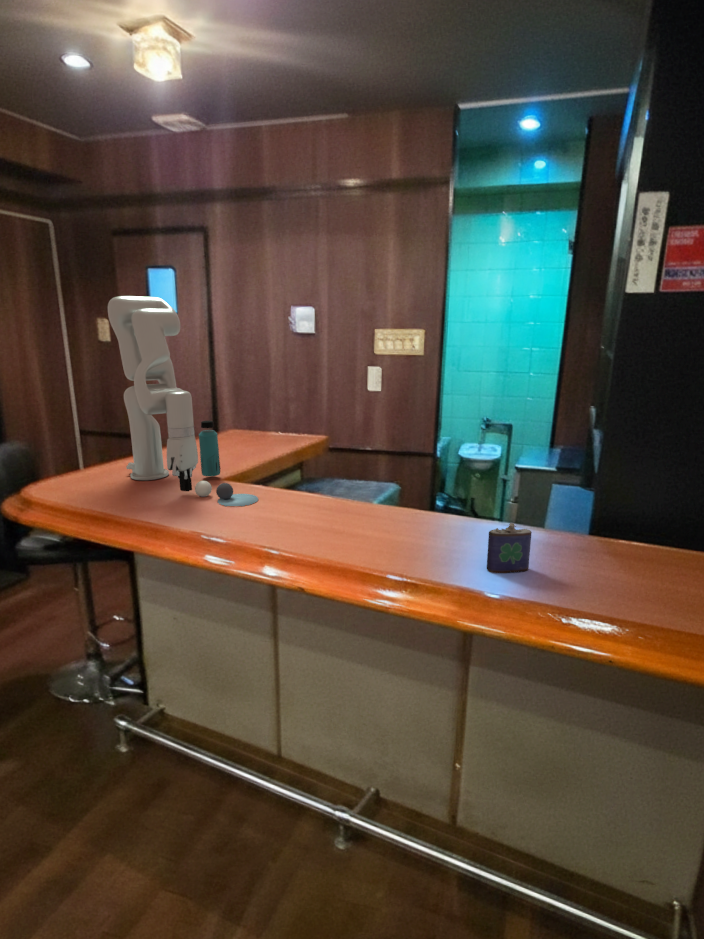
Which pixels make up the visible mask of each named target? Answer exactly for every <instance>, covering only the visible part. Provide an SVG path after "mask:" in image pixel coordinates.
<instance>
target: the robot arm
mask: <svg viewBox="0 0 704 939" xmlns="http://www.w3.org/2000/svg"><path fill="white" fill-rule="evenodd" d="M107 314H108V320H109V323H110V325H111V326H110V327H111V328H112V329H113V332H114V334H115V337H116V338H117V341H118V347H119V352H120V358H121V364H122V367H123V372H124V375H125V377H126V379H127V380H129V381H133V385H132V386H129V387H127V388H126V389H125V391H124V392H123V402H124V406H125V409H126V412H127V416H128V417H127V418H128V421H129V422H128V423H129V430H130V438H131V446H132V447H131V448H132V456H133V457H132V458H133V462H128V463H127V465H126V467H125V468H126V469H127V470H131V471H132V472H131V473H130V479H131V480H136V481H153V480H154V481H155V480H158V479H163V478H165V477H168V476H169V475H170V471H172V473H171V475H172V476H173V477H177V479H178V480H179V488H180V491H181V492H190V491H192V490H193V488H192V487H193V485H192V477H193V472H194V470H195V469H196V468H197V465H198V463H199V453H198V446H197V441H196V440H197V439H196V436H195V434H196V433H195V424H194V410H193V408H194V407H193V398H192V394H191V392H189V391H187V390H183V389H182V388H179V387H177V381H176V377H175V376H176V375H175V369H174V364H173V362H172V359H171V357H170V356H171V352H170V349H169V345H168V342H167V339H166V338H167V337H173V336H177V335H178V334H180V331H181V320H180V318H179V315H178V313H177V312H176V310H175V309H174V308H173V306H171V305H169V303H167V301H165V300H164V299H162V298H161V297H157V296H138V295H137V296H136V295H119V296H114V297H112V298H111V299H110V300H109V301H108V303H107ZM147 381H157V382H158V383H152V384H151V383H149V384H147ZM159 414H160V415H161V414H166V423H167V433H168V438H167V440H166V441H167V442H166V465H167V469H166V468H164V456H163V445H162V444H163V443H162V435H161V427H160V426H161V425H160V423H159V422H158V421H157V419H156V418H155V417H154V416H153V415H159Z"/></svg>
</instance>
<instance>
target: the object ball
mask: <svg viewBox="0 0 704 939" xmlns="http://www.w3.org/2000/svg"><path fill="white" fill-rule="evenodd" d="M215 492H216V496H217V497H218V499H220V498H221V499H229V498H230V497H231V496H232V495H233V494H234V488H233V486H232V485H231V484H230V483H228V482H222V483H220V484H218V486H217V487H216V490H215Z"/></svg>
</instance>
